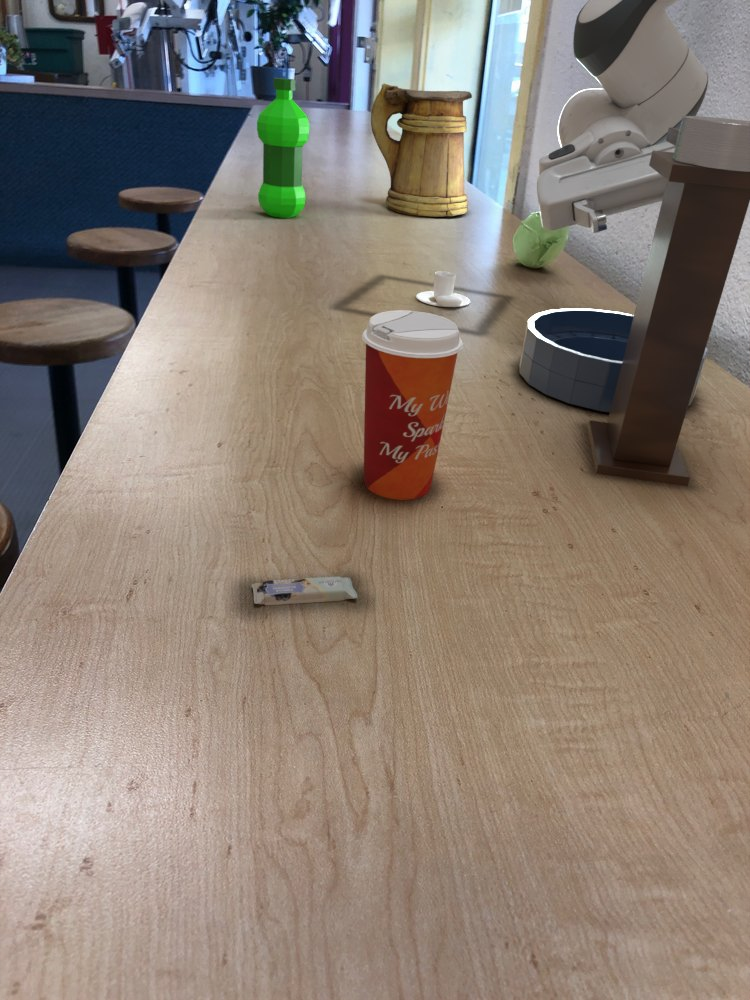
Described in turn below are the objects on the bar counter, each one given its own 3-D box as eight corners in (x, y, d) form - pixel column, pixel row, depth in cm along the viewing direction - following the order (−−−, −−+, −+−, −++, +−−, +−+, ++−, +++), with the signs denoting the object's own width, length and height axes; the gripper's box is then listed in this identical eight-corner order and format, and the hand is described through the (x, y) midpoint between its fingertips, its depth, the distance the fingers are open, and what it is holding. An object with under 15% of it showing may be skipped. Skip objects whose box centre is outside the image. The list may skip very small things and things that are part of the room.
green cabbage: (487, 264, 138) (497, 199, 133) (527, 258, 145) (537, 196, 140) (541, 281, 131) (554, 213, 125) (580, 274, 138) (594, 208, 132)
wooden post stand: (667, 441, 78) (750, 160, 65) (686, 489, 70) (786, 175, 57) (586, 430, 79) (652, 150, 66) (595, 476, 70) (672, 163, 57)
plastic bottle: (287, 210, 167) (290, 77, 155) (316, 220, 160) (322, 82, 148) (247, 213, 161) (246, 75, 149) (275, 223, 155) (277, 80, 142)
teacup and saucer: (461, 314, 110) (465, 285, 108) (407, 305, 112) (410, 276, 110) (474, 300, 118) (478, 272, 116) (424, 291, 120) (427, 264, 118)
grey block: (713, 145, 76) (722, 111, 74) (781, 175, 56) (795, 129, 55) (639, 138, 76) (647, 103, 75) (681, 165, 57) (692, 119, 55)
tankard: (472, 221, 173) (489, 94, 161) (365, 213, 171) (374, 84, 159) (461, 206, 189) (476, 89, 176) (363, 199, 187) (371, 80, 175)
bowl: (675, 367, 98) (688, 320, 95) (708, 431, 81) (725, 376, 78) (518, 347, 100) (526, 300, 97) (518, 406, 83) (528, 351, 80)
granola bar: (351, 583, 53) (352, 571, 53) (357, 604, 51) (358, 592, 51) (251, 589, 52) (251, 576, 51) (253, 611, 50) (253, 598, 49)
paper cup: (391, 519, 61) (410, 346, 54) (332, 478, 66) (342, 315, 59) (462, 493, 66) (487, 330, 59) (402, 456, 71) (419, 303, 64)
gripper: (702, 164, 94) (744, 214, 84) (532, 211, 98) (553, 264, 88) (703, 110, 90) (747, 156, 80) (525, 161, 94) (546, 211, 84)
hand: (644, 213), depth 84 cm, fingers open, 8 cm apart
